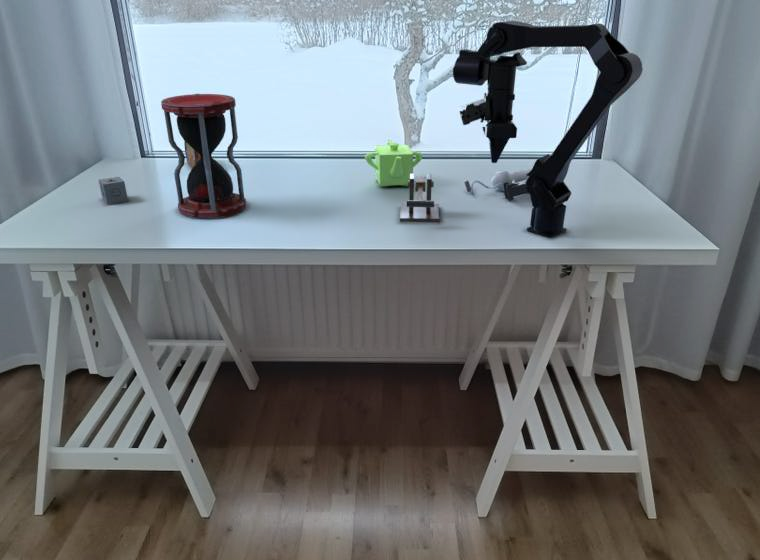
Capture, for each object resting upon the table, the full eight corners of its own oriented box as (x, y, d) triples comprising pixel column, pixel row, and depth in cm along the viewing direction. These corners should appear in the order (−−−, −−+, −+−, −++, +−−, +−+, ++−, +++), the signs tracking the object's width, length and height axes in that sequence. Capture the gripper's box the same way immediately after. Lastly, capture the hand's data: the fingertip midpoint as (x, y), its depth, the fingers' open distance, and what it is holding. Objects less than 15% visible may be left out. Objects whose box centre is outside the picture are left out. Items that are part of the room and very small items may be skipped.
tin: (185, 161, 198) (181, 132, 194) (196, 160, 199) (192, 131, 195) (195, 173, 186) (191, 143, 182) (206, 172, 188) (202, 141, 183)
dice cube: (107, 204, 162) (103, 184, 159) (102, 199, 165) (98, 179, 163) (128, 201, 164) (124, 181, 162) (122, 196, 168) (118, 176, 165)
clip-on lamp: (466, 210, 168) (537, 198, 164) (462, 186, 164) (535, 173, 160) (467, 192, 177) (534, 180, 173) (463, 169, 174) (532, 157, 170)
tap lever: (433, 210, 145) (434, 200, 143) (406, 210, 145) (406, 200, 143) (433, 186, 153) (433, 176, 151) (407, 185, 153) (407, 176, 152)
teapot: (399, 195, 169) (399, 152, 164) (357, 186, 176) (356, 145, 170) (429, 181, 180) (430, 141, 175) (388, 173, 186) (388, 135, 181)
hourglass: (178, 221, 151) (160, 107, 138) (178, 201, 164) (161, 94, 152) (249, 215, 155) (237, 103, 142) (243, 196, 168) (232, 92, 155)
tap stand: (439, 223, 150) (441, 183, 145) (399, 223, 151) (400, 182, 146) (438, 208, 160) (439, 170, 155) (401, 208, 160) (401, 169, 155)
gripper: (460, 80, 147) (455, 152, 155) (464, 94, 131) (459, 173, 139) (510, 81, 146) (503, 152, 154) (521, 95, 130) (512, 174, 138)
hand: (493, 162), depth 147 cm, fingers closed
